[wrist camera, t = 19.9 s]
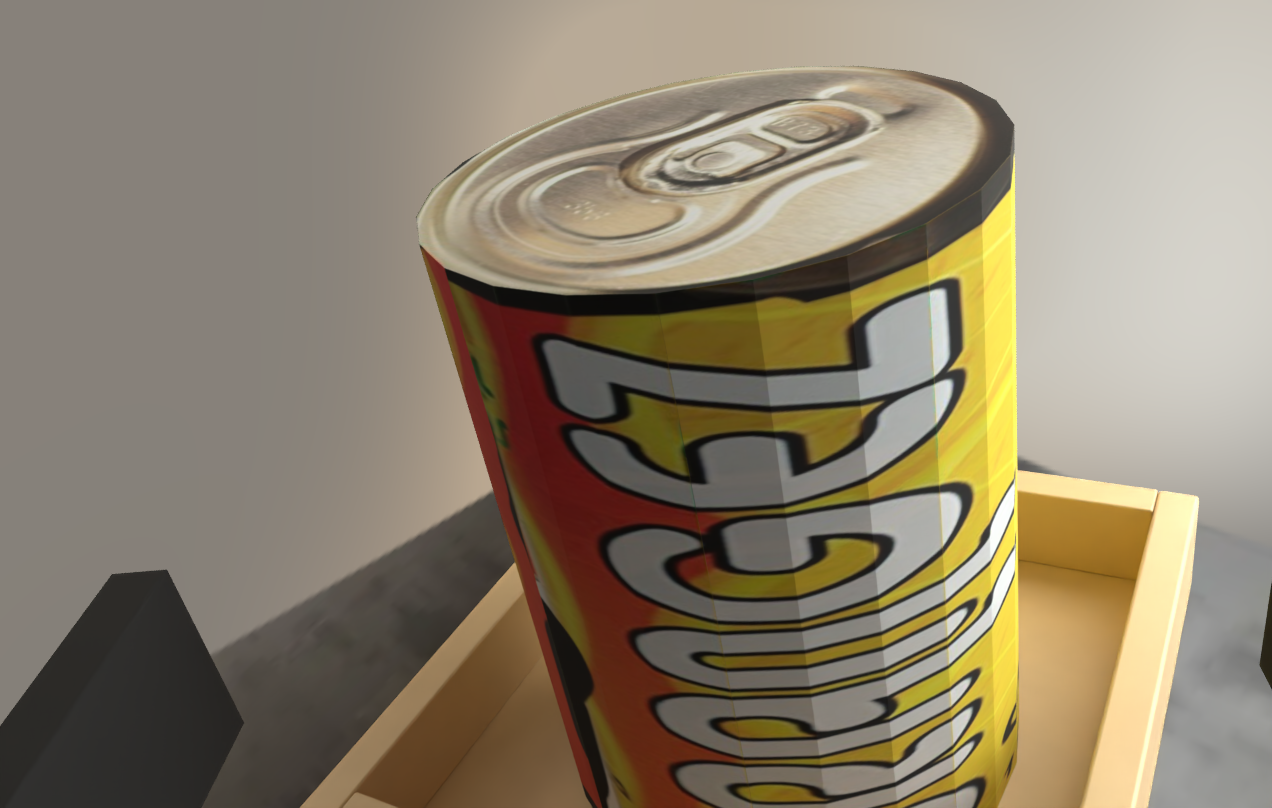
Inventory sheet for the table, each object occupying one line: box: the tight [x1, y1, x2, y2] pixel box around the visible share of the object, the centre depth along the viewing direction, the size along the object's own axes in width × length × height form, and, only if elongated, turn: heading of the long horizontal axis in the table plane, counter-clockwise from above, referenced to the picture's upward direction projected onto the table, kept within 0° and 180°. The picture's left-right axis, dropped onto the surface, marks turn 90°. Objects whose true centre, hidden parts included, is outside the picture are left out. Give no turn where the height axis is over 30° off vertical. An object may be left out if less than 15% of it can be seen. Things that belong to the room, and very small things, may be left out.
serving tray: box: [300, 470, 1199, 808], centre depth 23 cm, size 14×14×2 cm
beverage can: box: [416, 66, 1019, 808], centre depth 20 cm, size 9×9×12 cm
